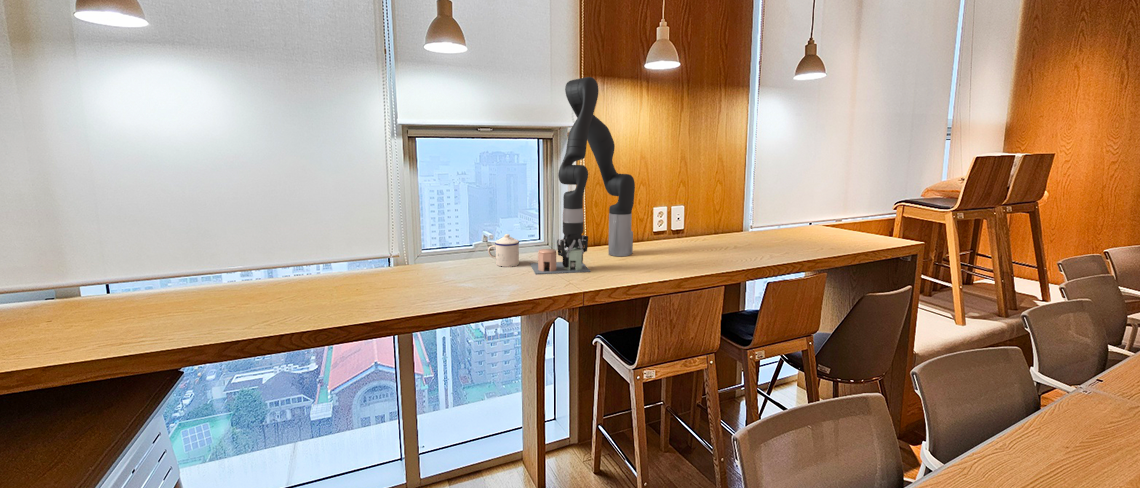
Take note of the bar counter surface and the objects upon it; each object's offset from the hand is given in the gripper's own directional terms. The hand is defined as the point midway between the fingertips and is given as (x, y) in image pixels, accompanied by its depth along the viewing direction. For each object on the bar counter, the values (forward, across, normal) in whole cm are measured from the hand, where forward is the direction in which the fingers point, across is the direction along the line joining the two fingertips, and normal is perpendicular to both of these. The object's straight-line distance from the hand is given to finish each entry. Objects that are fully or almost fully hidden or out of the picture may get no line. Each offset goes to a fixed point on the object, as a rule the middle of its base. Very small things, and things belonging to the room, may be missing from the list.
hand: (572, 265), depth 202 cm
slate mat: (+2, +2, -5) cm, 6 cm away
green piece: (+1, 0, 0) cm, 1 cm away
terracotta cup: (+1, +8, -5) cm, 9 cm away
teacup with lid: (+2, +14, -24) cm, 27 cm away
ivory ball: (+1, 0, 0) cm, 1 cm away
